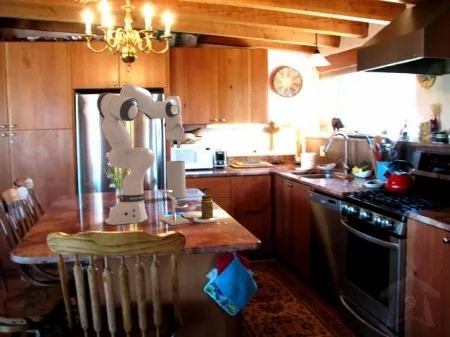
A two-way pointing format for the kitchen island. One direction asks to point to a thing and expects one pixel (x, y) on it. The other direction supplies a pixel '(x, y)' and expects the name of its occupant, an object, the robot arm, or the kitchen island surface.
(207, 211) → the condiment
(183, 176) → the cylinder vase
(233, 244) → the kitchen island surface
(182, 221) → the balance
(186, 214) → the far dish
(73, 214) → the kitchen island surface
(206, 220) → the near dish
